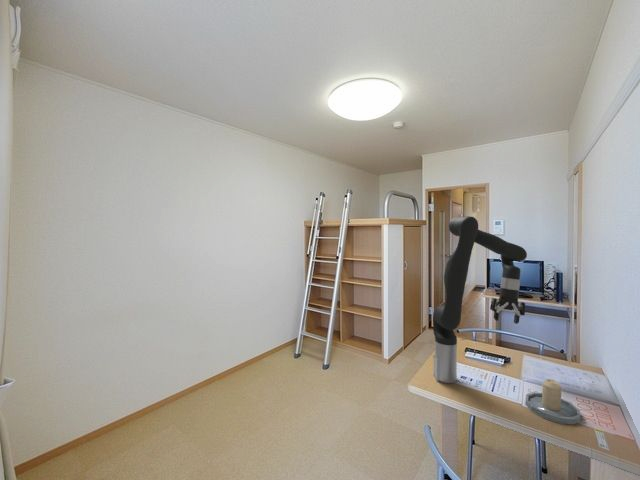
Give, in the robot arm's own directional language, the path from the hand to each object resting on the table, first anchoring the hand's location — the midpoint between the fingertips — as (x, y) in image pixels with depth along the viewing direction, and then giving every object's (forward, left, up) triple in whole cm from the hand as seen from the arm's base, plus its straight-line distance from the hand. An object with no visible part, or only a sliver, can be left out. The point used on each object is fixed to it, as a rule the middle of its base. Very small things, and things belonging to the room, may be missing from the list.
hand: (506, 321), depth 135 cm
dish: (+3, -28, -25) cm, 37 cm away
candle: (+3, -28, -24) cm, 37 cm away
